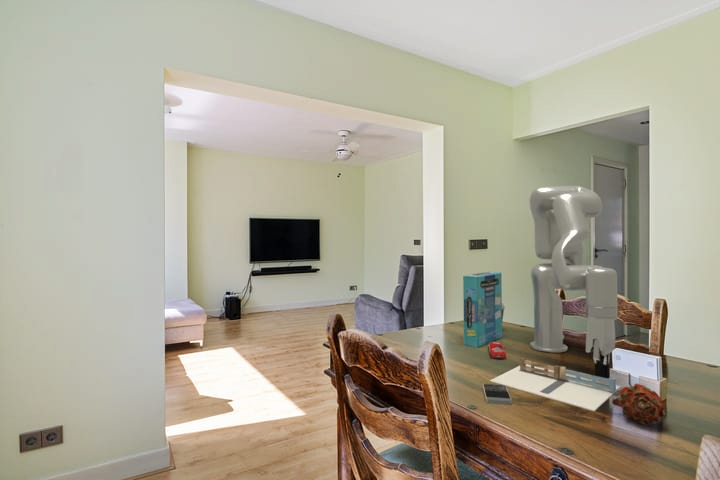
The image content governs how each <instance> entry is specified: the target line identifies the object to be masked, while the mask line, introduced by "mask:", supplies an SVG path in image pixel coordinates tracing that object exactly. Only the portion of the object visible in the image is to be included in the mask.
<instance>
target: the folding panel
mask: <svg viewBox="0 0 720 480" xmlns="http://www.w3.org/2000/svg"><path fill="white" fill-rule="evenodd" d="M566 374H570V375H574V376H576V378H575V377H570V376H566ZM580 377H582V378H587V379H591V380H592V382H591V381H587V380H583V379H580ZM560 379H562V380H566V379H567V380H571V381H575V382H577V383H583V384H588V385H592V386H593V387H600V388H604V389H608V390H609V391H610V392H615V391H616V385H617V384H616V381H617V379H616V378H615V377H611V376H610V378H609V379H607V378H602V377H598V376H595V374H593V375H592V374H589V373H584V372H581V371H577V370H576V371H575V370H571V369H566V366H562V365H560ZM596 381H600V382H604V383H608V384H609V386H608V385H604V384H600V383H596ZM616 392H617V391H616ZM616 392H615V393H616Z"/></svg>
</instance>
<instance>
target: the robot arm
mask: <svg viewBox="0 0 720 480" xmlns="http://www.w3.org/2000/svg"><path fill="white" fill-rule="evenodd" d="M529 209H530V212H531V215H532V218H533V223H534V251H535V255H536V257H537V258H539V259H540V260H550V261H551V263H550V262H548V263H546V262H545V263H544V262H543V263H538V264H536V265H534V266H533V267H532V268H531V269H530V279H531V284H532V290H533V308H534V309H533V319H534V320H533V324H534V325H533V327H534V329H533V332H534V338H533V340H534V341H531V342H529V347H530V348H531V349H533V350H535V351H539V352H543V353H556V354H557V353H558V354H559V353H565V352H567V351H568V346H567V345H566V344H564V342H563V341H564V339H565V335H564V334H563V329H564V327H563V325H564V324H563V301H562V298H561V296H559V294H558V293H557V291H556V290H563V291H571V292H573V291H585V316H586V318H587V322H586V330H585V331H586V332H585V334H586V335H585V352H586V353H587V354H591V353H592V352H593V355H592V357H593V358H592V359H593V362H594V376H598V377H602V378H607V379H609V378H610V377H611V374H610V372H611V371H610V368H611V367H610V364H611V363H610V361H611V360H610V359H611V358H610V357H611V353H612V352H613V351H615V348H616V327H615V321H616V320H619V319H618V317H619V316H618V313H619V312H618V311H619V310H618V272H617V271H616V270H615V269H613V268H611V267H610V268H609V267H603V266H601V265H596V264H595V265H588V264H587V265H584V245H583V242H585V241H586V240H588V239H589V238H590V237H591V230H590V227H589V226H590V225H589V224H588V223H589V222H588V219H589V218H590V219H593V218H597V217H599V216H600V215H601V213H602V211H603V202H602V199H601V197H600V195H598V193H596V192H595V191H594V190H591V189H588V188H586V187H583V186H581V185H550V186H547V185H546V186H540V187H536V188H534V189H533V190H532V191H531V194H530V197H529ZM587 218H588V219H587Z"/></svg>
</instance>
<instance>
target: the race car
mask: <svg viewBox="0 0 720 480" xmlns="http://www.w3.org/2000/svg"><path fill="white" fill-rule="evenodd" d="M487 344H488V346H487V351H488V355H489V356H490V359H499V360H503V359H506V358H507V352H506V351H505V349H506V347H504V346H503V345H502V343H501V342H500V341H492V342H490V343H487Z"/></svg>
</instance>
